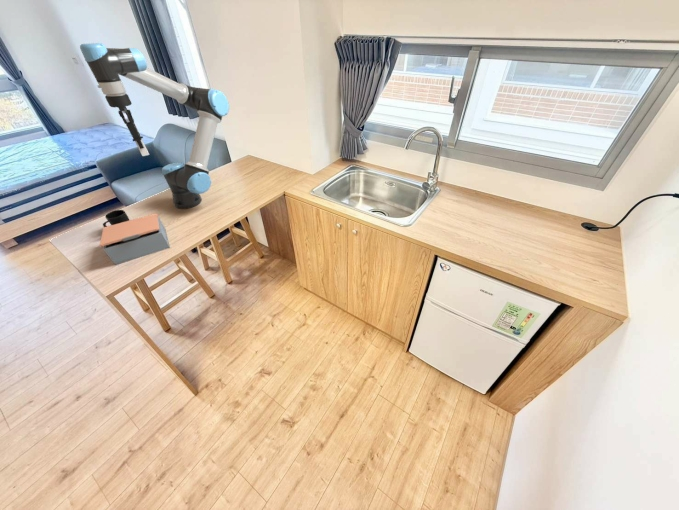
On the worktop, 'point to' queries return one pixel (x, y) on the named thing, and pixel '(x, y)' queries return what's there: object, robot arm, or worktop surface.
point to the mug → (116, 217)
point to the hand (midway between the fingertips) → (145, 154)
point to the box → (138, 246)
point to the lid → (129, 229)
